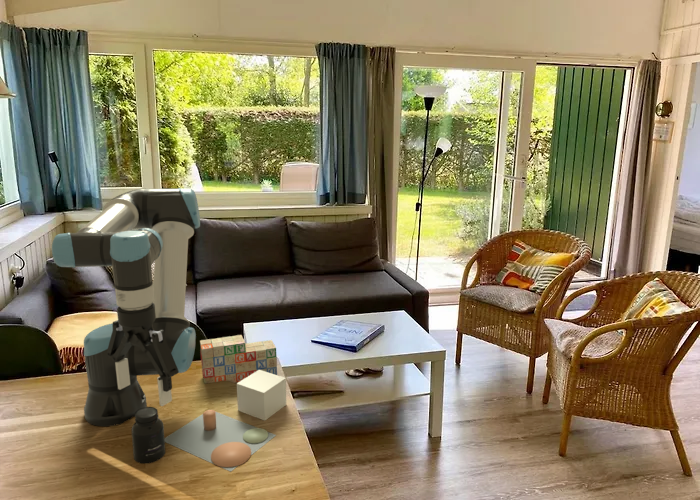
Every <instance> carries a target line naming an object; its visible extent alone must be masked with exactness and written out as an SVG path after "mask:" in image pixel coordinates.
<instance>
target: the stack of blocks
mask: <svg viewBox="0 0 700 500" xmlns="http://www.w3.org/2000/svg"><path fill="white" fill-rule="evenodd" d="M199 345H200V350H199V351H200V352H199V353H200V361H201V375H202V379H203V382H204V384H211V383H217V382H223V381H227V382H230V383H233V384H237V383H238V382H240V381H242V380H243V379H245V378H246V377H248V376H250V375H251V374H253V373H255V372H256V371H258V370H262V371H265V372H268V373H272V374H275V375H278V360H277V347H276V345H275V344H274V342H273V340H272V339H268V340H262V341H255V342H254V341H253V342H245V339H244V338H243V335H242V334H237V335H232V336H230V335H229V336H222V337H217V338H209V339H208V338H207V339H201V340H199Z"/></svg>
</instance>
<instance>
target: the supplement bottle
mask: <svg viewBox="0 0 700 500" xmlns="http://www.w3.org/2000/svg"><path fill="white" fill-rule="evenodd" d="M134 421H135V422H134V423H133V425H132V426H131V439H132V451H133V460H134V461H135V462H136V463H139V464H142V465H143V464H144V465H147V464H152V463H155V462H158V461H159V460H161V459H162V458H163V457H164V456H165V454H166V442H165V440H164V438H165V427H164V423H163V420H162V419H160V418H159V413H158V409H157V407H154V406H147V407H145V408H141V409H139V410H138V411H137V412H136V413H135V417H134Z"/></svg>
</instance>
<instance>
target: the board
mask: <svg viewBox="0 0 700 500" xmlns="http://www.w3.org/2000/svg"><path fill="white" fill-rule="evenodd" d="M276 436H277V434H276V433H275V434H274V433H272V432H269V431H267V429H264V428H261V427H257V426H254V425H251V424H249V423H246V422H243V421H241V420H238V419H236V418H233V417H230V416H228V415H226V414H223V413H220V412H218V411H215V410H214V409H207V410H205V411H204V412H203V413H202V414H201V415H199V416H197V417H196V418H194V419H192V420H191V421H189V422H188V423H186V424H184V425H183V426H182V427H180V428H178V429H177V430H175V431H173V432H172V433H171V434H169V435H167V436H166V437H164V440H165V444H166V443H167V444H168V445H170V446H173V447H176V448H177V449H179V450H182V451H184V452H186V453H187V454H188V453H189V454H190V455H193V456H195V457H198V458H199V459H201V460H204V461H206V462H208V463H210V464H213V465H214V466H217V467H219V468H222V469H224V470H225V471H229V472H230V473H231V472H233V471H234V470H235V469H236V468H237V467H239V466H240V465H243V464H244V463H246V462H247V461H248V460H249V459H250V458H251V456H252V455H254V454H255V453H256V452H257V451H259V450H260V449H261V448H263V446H265V445H266V444H267V443H269V442H270V441H271V440H273V439H274V438H275V437H276Z"/></svg>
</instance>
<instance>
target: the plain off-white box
mask: <svg viewBox="0 0 700 500" xmlns="http://www.w3.org/2000/svg"><path fill="white" fill-rule="evenodd" d="M236 397H237V411H239V412H241V413H244V414H245V415H246V414H247V415H249V416H251V417H254V418H256V419H260V420H262V421H267V420H268V419H269V418H270V417H272V416H273V415H275V414H276V413H277V412H279V411H280V410H281V409H283V408H284V407H285V406H287V378H286V377H284V376H281V375H278V374H277V375H275V374H272V373H268V372H265V371H262V370H258V371H256V372H255V373H253V374H251V375H250V376H248V377H246V378H245V379H243V380H242V381H240V382H236Z"/></svg>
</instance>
